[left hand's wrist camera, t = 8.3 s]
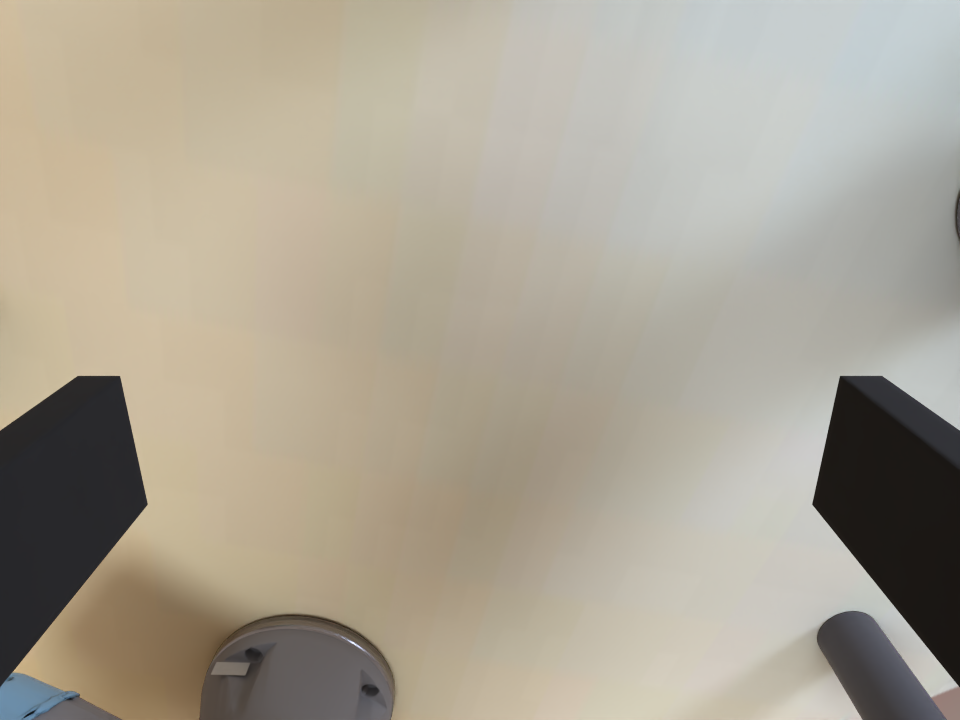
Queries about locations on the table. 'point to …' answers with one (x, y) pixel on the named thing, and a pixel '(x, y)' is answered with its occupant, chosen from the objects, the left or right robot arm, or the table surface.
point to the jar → (873, 670)
